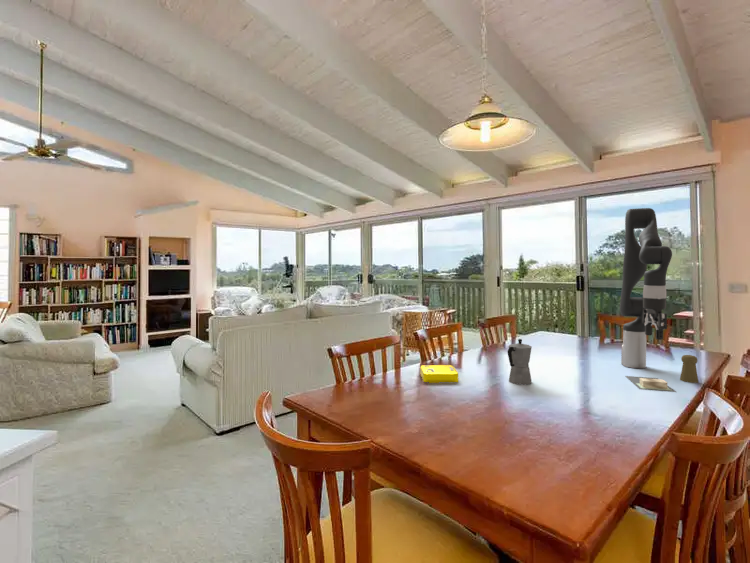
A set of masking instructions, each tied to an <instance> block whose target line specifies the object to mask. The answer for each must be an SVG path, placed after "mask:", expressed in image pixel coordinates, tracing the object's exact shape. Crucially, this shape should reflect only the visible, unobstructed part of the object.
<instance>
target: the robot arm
mask: <svg viewBox="0 0 750 563" xmlns="http://www.w3.org/2000/svg"><path fill="white" fill-rule="evenodd" d="M624 221H625V222H624V223H625V225H624V230H625V231H624V234H625V236H624V252H623V261H622V262H623V265H622V285H621V292H620V298H619V299H620V300H619V313H620V315H621V316H623V317H636V318H635V320H632V321H630V322H626V323H624V324H623V326H622V330H623V331H622V332H623V334H622V335H623V337H622V340H623V342H622V344H621V351H620V352H621V353H620V354H621V358H620V359H621V360H620V361H621V362H620V363H621V365H622V366H623V367H626V368H633V369H646V368H647V336H653V326H654V327H655V339H656V340H659V341H660V340H664V331H665V330H667V329H668V320H667V319H668V318H667V317H668V314H667V313H663V312H662V310H666V309H667V286H666V283H667V272H668V268H669V265H670V263H671V260H672V257H673V251H672V249H671V248H670V247H669V246H665V245H662V240H661V238H660V235H659V232H658V223H657V215H656V211H655V210H654V209H653V208H651V207H644V208H643V207H642V208H641V207H640V208H629V209H627V211H626V213H625V218H624ZM636 229H637V230H639V229H642V231H640V234H639V235H638V240H637V238H636V236H635V230H636ZM648 265H658V267H657V268H655V269H650V270H647V267H648ZM642 278H643V289H642V290H643V291H642V297H641V296H640V297H638V296H637V297H635V296H634V297H631V294H632V291H633V289H634V288H635V287H636V285H637V284H638V283H639V282H640V280H642Z"/></svg>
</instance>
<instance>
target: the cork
mask: <svg viewBox="0 0 750 563" xmlns="http://www.w3.org/2000/svg"><path fill="white" fill-rule="evenodd" d="M680 358H681V362H682V366H681V372H680V378H679V380H680V381H681V382H684V383H688V384H689V383H691V384H697V383H699V377H698V370H697V365H696V364H697V363H698V358H697V356H695V355H692V354H683V355H682V356H681V357H680Z"/></svg>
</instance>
